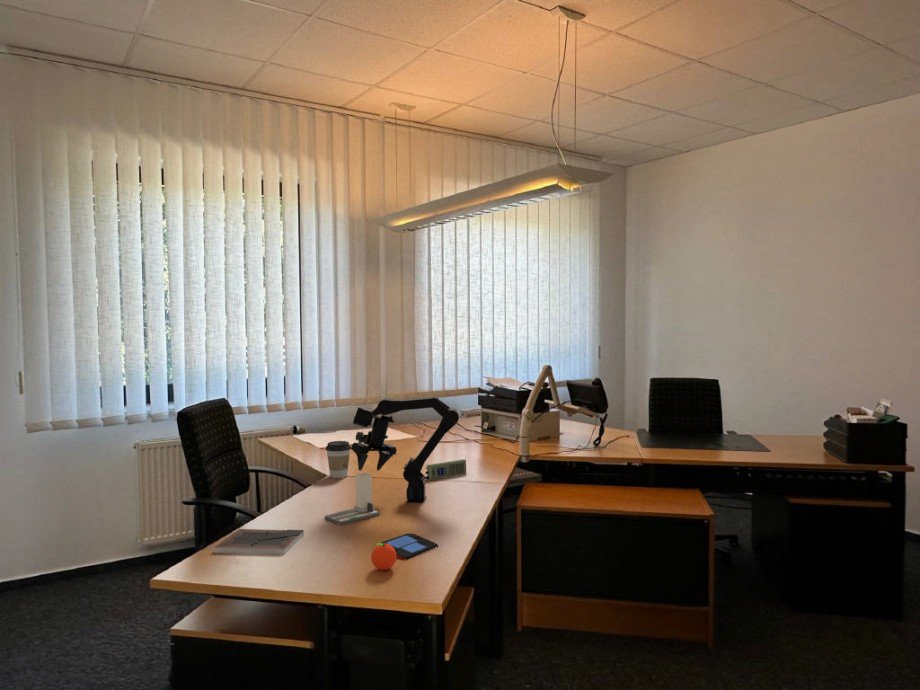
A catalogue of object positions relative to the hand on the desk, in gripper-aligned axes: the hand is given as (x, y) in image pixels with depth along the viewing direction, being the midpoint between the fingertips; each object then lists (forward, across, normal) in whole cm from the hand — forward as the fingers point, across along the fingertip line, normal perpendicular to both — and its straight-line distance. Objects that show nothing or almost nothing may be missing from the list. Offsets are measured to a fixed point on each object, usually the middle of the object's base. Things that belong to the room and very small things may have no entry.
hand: (368, 470), depth 237 cm
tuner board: (+12, +15, +13) cm, 23 cm away
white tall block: (+9, +10, +14) cm, 20 cm away
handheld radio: (+5, -45, -1) cm, 45 cm away
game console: (+7, +24, +49) cm, 55 cm away
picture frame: (+19, +49, +13) cm, 54 cm away
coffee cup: (+16, -18, -36) cm, 44 cm away
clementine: (+8, +39, +56) cm, 68 cm away
